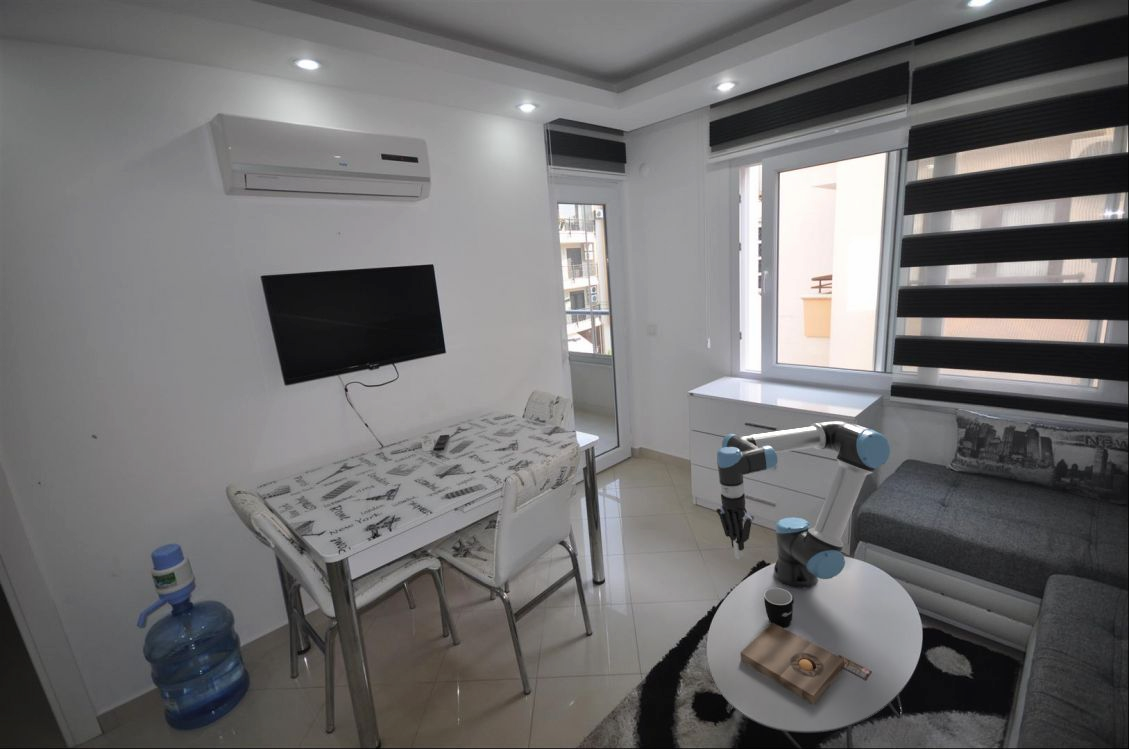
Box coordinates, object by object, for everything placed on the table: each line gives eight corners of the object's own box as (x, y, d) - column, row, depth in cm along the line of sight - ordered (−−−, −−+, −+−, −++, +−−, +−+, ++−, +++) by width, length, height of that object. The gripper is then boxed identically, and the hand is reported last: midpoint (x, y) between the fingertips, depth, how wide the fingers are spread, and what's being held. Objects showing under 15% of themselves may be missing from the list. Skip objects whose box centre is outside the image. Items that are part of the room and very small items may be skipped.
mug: (783, 635, 163) (781, 608, 161) (760, 621, 171) (758, 595, 169) (805, 618, 169) (803, 592, 167) (782, 605, 177) (780, 580, 175)
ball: (801, 664, 151) (801, 653, 150) (815, 671, 148) (815, 660, 147) (796, 672, 149) (795, 662, 148) (809, 680, 146) (809, 669, 145)
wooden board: (741, 660, 156) (740, 652, 156) (772, 630, 166) (772, 622, 166) (813, 704, 138) (813, 695, 137) (844, 667, 148) (843, 659, 147)
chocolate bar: (875, 674, 145) (875, 672, 145) (868, 684, 142) (868, 681, 142) (837, 654, 154) (837, 652, 153) (829, 663, 151) (829, 661, 151)
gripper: (709, 493, 167) (716, 555, 172) (743, 503, 157) (750, 569, 162) (722, 484, 171) (728, 545, 176) (756, 494, 161) (762, 558, 166)
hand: (738, 556), depth 169 cm, fingers closed
